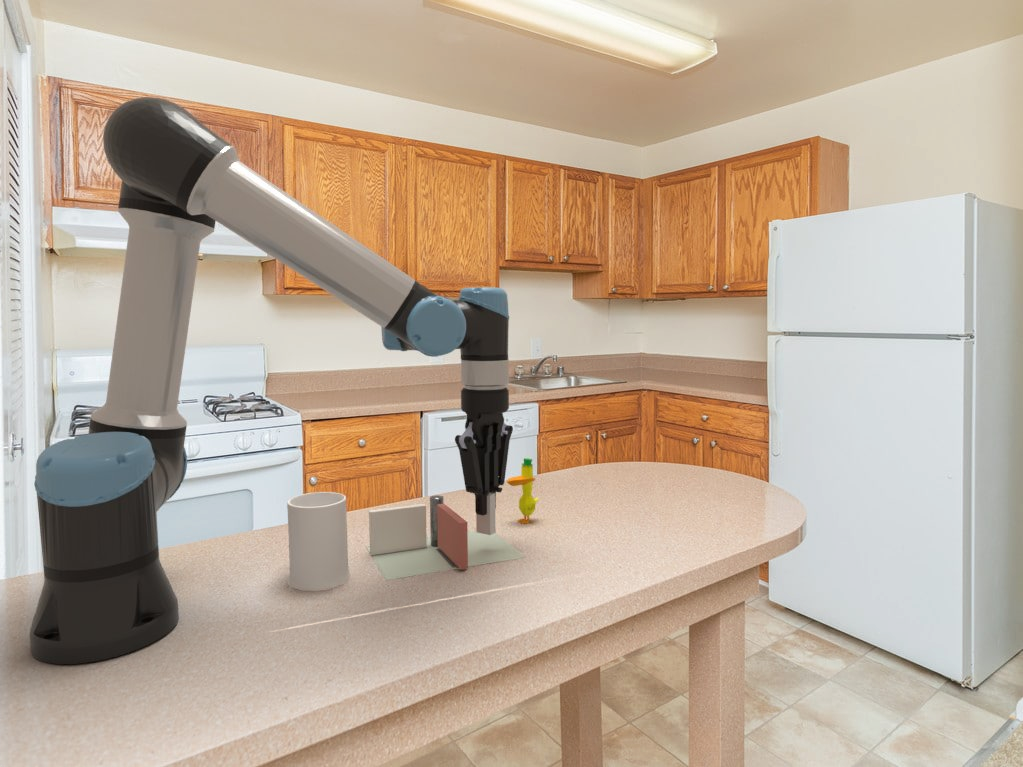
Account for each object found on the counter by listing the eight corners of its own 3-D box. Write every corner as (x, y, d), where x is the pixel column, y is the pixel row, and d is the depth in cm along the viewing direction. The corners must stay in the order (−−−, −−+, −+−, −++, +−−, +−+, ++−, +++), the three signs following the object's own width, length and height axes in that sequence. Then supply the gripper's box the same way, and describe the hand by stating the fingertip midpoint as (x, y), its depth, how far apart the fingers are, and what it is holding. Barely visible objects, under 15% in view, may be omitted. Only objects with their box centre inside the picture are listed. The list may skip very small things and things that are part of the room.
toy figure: (513, 529, 115) (512, 463, 114) (502, 523, 118) (502, 459, 117) (544, 522, 119) (544, 458, 118) (533, 517, 122) (533, 455, 121)
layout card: (386, 582, 92) (386, 579, 92) (365, 548, 106) (365, 546, 106) (525, 558, 101) (525, 556, 101) (490, 530, 115) (490, 528, 115)
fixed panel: (371, 555, 102) (370, 512, 101) (369, 553, 103) (368, 510, 102) (426, 547, 106) (425, 505, 105) (424, 545, 107) (423, 503, 106)
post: (432, 547, 105) (432, 499, 105) (429, 543, 107) (428, 496, 107) (445, 545, 106) (445, 498, 105) (441, 541, 108) (441, 494, 107)
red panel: (437, 546, 105) (437, 504, 104) (444, 545, 105) (444, 503, 105) (460, 569, 95) (459, 523, 95) (467, 568, 96) (467, 522, 95)
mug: (273, 571, 97) (270, 492, 95) (328, 558, 102) (326, 483, 101) (300, 598, 87) (297, 511, 86) (359, 582, 93) (357, 500, 91)
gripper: (488, 381, 109) (489, 518, 111) (439, 389, 98) (442, 540, 100) (526, 384, 105) (526, 525, 107) (480, 392, 94) (481, 549, 96)
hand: (485, 532), depth 104 cm, fingers closed
